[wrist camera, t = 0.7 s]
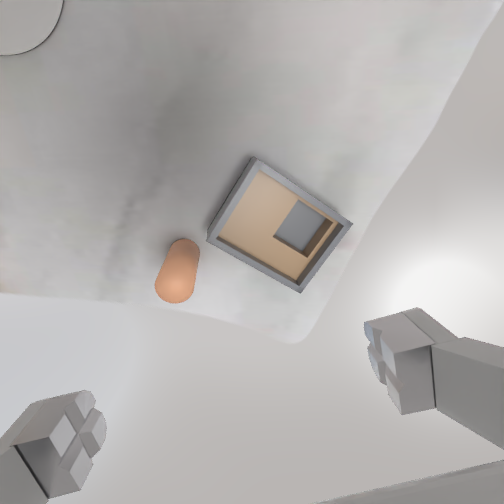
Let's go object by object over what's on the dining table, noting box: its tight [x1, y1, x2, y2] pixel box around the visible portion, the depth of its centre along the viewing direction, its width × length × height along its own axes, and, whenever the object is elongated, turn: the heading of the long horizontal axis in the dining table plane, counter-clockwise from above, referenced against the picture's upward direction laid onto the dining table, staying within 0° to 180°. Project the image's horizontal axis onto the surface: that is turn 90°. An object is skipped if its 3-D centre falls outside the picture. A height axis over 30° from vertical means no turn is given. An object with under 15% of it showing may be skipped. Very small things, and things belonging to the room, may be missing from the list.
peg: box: [155, 239, 200, 303], centre depth 36 cm, size 4×4×10 cm
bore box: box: [206, 156, 353, 294], centre depth 38 cm, size 14×11×5 cm
